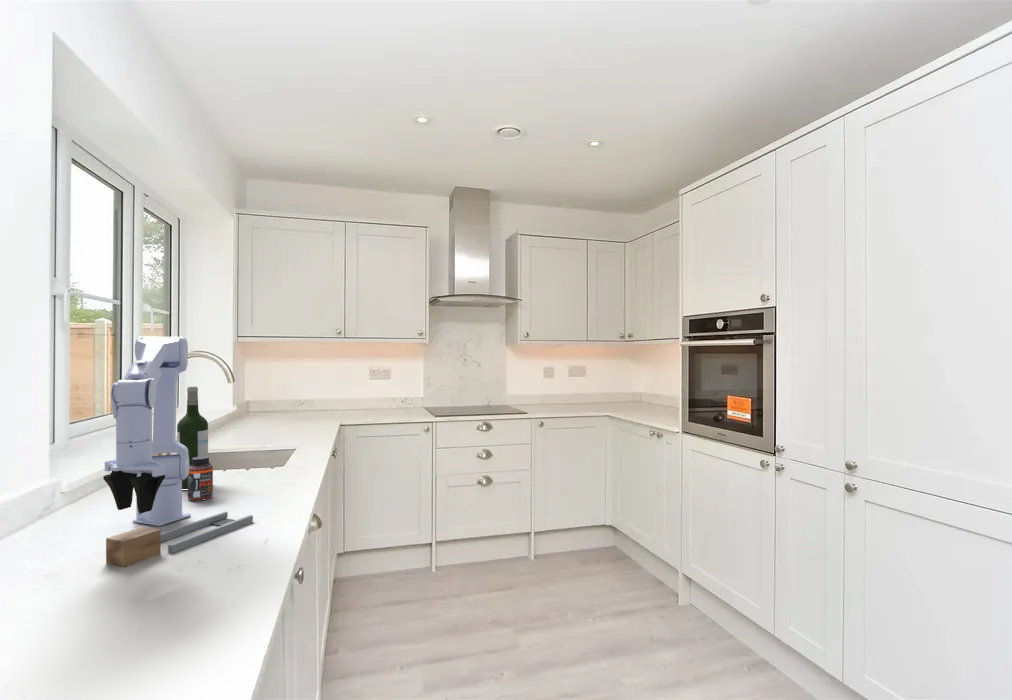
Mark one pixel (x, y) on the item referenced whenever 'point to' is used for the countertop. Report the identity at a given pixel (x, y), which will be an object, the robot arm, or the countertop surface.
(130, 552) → the brown rectangular block
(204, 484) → the supplement bottle
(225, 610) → the countertop surface
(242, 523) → the channel
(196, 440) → the wine bottle
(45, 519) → the countertop surface
